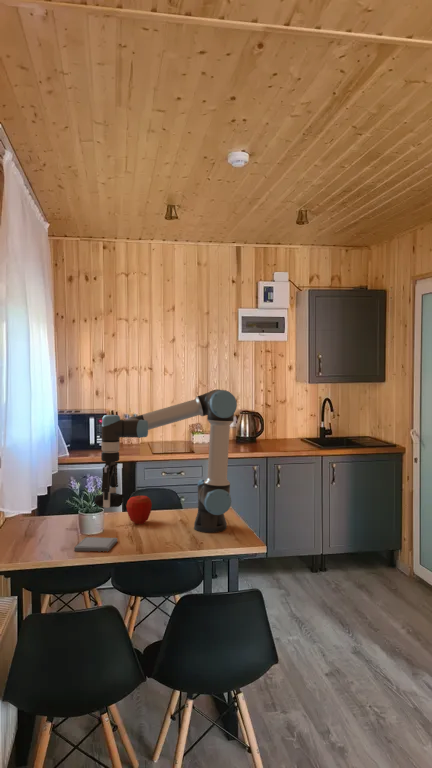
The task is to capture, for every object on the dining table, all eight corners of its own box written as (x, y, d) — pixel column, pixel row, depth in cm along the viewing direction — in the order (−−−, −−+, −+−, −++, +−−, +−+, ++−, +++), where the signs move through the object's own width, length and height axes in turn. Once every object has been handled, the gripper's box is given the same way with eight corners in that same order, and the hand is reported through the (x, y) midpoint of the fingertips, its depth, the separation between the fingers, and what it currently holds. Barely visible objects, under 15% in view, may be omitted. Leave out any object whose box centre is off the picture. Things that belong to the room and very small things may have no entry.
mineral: (106, 509, 230) (106, 495, 230) (92, 506, 235) (92, 492, 235) (125, 505, 238) (125, 492, 238) (110, 502, 243) (111, 489, 243)
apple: (146, 518, 277) (145, 490, 277) (156, 524, 267) (156, 494, 267) (122, 522, 271) (122, 493, 270) (132, 528, 260) (131, 498, 260)
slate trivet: (117, 541, 240) (117, 537, 240) (108, 551, 226) (108, 547, 226) (85, 540, 241) (85, 536, 241) (74, 551, 227) (74, 547, 227)
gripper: (109, 447, 248) (108, 499, 248) (93, 454, 227) (93, 510, 228) (125, 448, 247) (124, 499, 247) (111, 455, 226) (111, 511, 227)
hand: (109, 504), depth 238 cm, fingers closed on mineral, 8 cm apart
